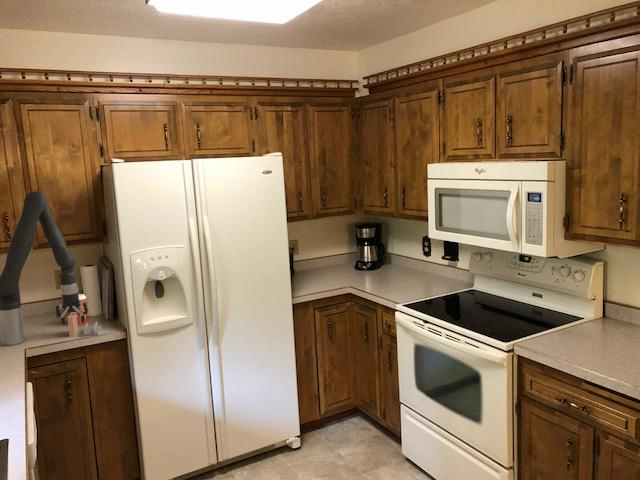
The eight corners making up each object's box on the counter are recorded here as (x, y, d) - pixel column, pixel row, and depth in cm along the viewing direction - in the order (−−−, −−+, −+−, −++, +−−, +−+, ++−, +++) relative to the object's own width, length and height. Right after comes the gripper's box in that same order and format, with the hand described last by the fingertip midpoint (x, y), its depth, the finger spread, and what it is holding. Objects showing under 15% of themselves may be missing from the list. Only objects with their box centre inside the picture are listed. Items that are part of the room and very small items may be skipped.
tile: (74, 336, 264) (72, 316, 262) (69, 336, 263) (67, 317, 262) (78, 330, 272) (76, 312, 271) (73, 331, 272) (71, 312, 270)
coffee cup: (77, 326, 280) (74, 298, 278) (69, 323, 285) (66, 296, 283) (91, 322, 287) (89, 295, 284) (83, 319, 292) (81, 293, 289)
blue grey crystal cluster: (80, 336, 263) (79, 330, 262) (84, 328, 275) (83, 322, 274) (97, 335, 265) (96, 328, 264) (101, 327, 277) (100, 320, 276)
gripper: (52, 295, 259) (56, 327, 262) (84, 292, 263) (87, 323, 266) (55, 292, 266) (59, 323, 269) (86, 288, 270) (89, 319, 273)
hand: (73, 323), depth 267 cm, fingers open, 8 cm apart
